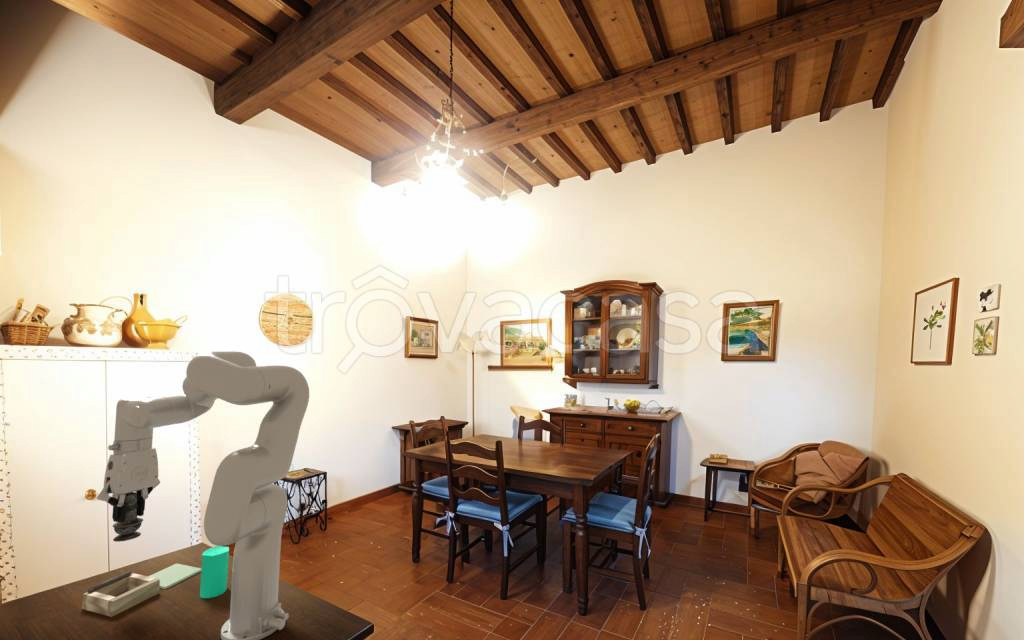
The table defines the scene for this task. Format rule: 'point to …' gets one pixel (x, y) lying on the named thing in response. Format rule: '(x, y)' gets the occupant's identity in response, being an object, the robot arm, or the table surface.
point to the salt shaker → (128, 520)
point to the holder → (104, 593)
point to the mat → (174, 574)
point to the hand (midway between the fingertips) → (128, 517)
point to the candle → (214, 572)
